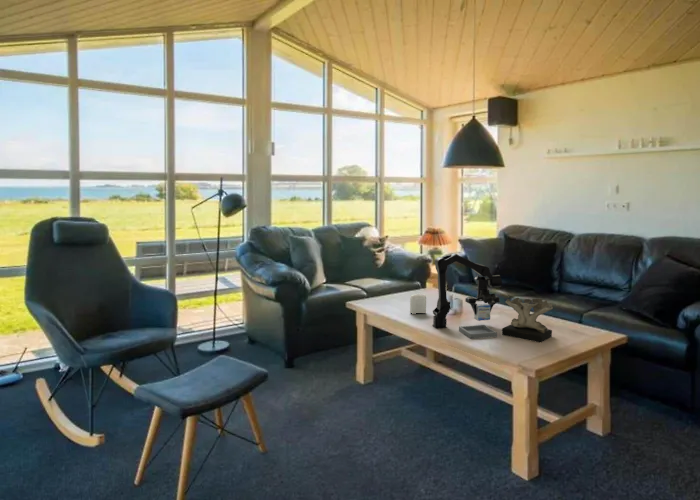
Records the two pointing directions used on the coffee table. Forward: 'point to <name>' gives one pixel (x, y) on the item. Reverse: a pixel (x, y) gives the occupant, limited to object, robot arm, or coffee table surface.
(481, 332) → the tray
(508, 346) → the coffee table surface
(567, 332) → the coffee table surface
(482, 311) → the medicine box
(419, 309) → the photo printer
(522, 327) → the coral
